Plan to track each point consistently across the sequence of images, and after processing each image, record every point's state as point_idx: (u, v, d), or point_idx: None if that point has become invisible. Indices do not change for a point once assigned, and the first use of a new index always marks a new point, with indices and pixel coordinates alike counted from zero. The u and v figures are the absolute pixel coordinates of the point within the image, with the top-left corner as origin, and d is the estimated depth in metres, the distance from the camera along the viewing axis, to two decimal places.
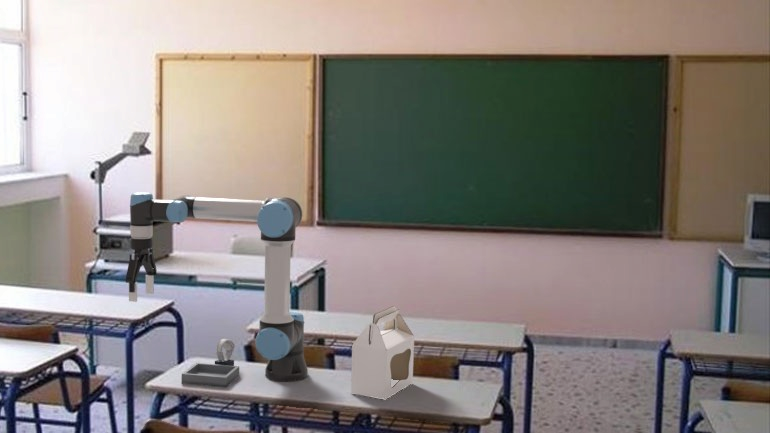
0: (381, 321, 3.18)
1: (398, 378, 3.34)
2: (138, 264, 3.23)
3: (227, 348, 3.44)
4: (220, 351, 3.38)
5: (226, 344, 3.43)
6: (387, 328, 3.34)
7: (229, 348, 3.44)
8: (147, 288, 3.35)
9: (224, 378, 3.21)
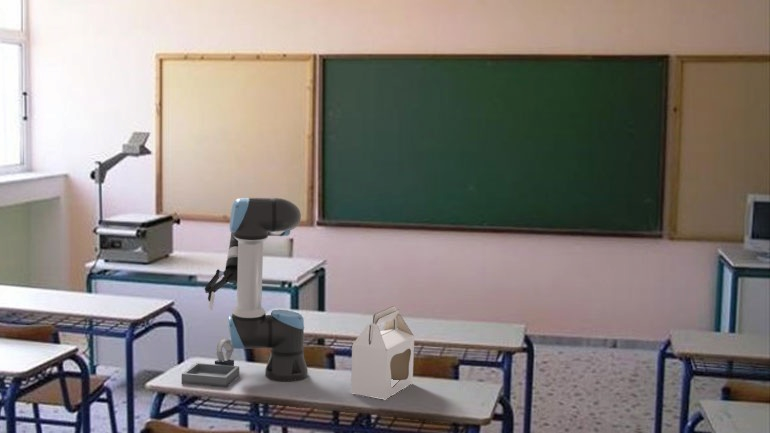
0: (381, 321, 3.18)
1: (398, 378, 3.34)
2: None
3: (227, 348, 3.44)
4: (220, 351, 3.38)
5: (226, 344, 3.43)
6: (387, 328, 3.34)
7: (229, 348, 3.44)
8: None
9: (224, 378, 3.21)
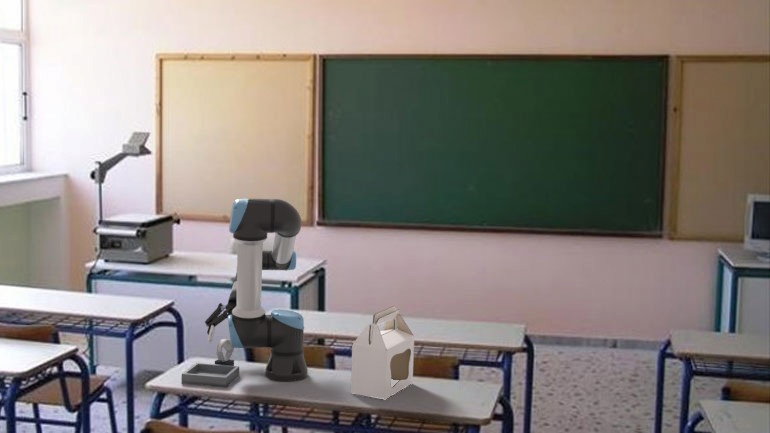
0: (381, 321, 3.18)
1: (398, 378, 3.34)
2: None
3: (227, 348, 3.44)
4: (220, 351, 3.38)
5: (226, 344, 3.43)
6: (387, 328, 3.34)
7: (229, 348, 3.44)
8: None
9: (224, 378, 3.21)
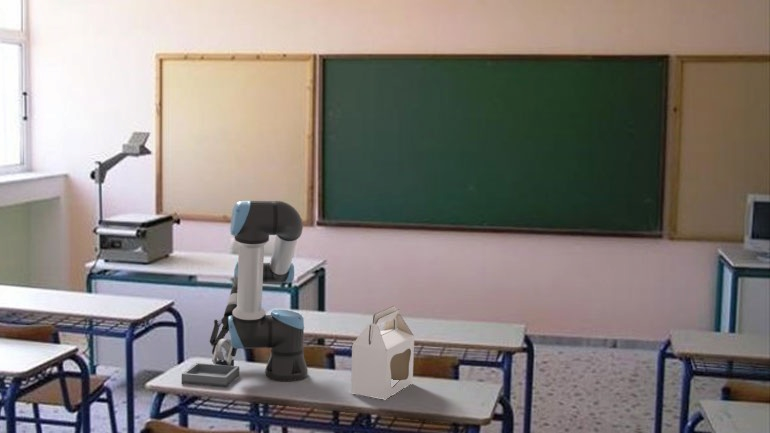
0: (381, 321, 3.18)
1: (398, 378, 3.34)
2: None
3: (227, 348, 3.44)
4: (220, 351, 3.38)
5: (225, 344, 3.43)
6: (387, 328, 3.34)
7: (229, 348, 3.44)
8: None
9: (224, 378, 3.21)
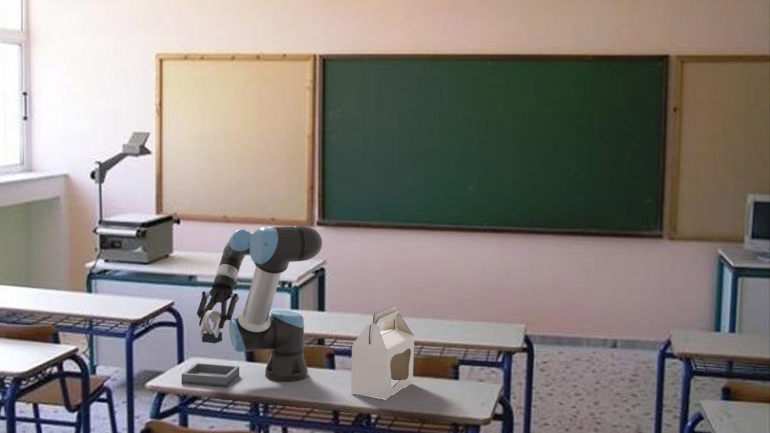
0: (381, 321, 3.18)
1: (398, 378, 3.34)
2: None
3: (214, 320, 3.32)
4: (206, 322, 3.26)
5: (213, 316, 3.31)
6: (387, 328, 3.34)
7: (216, 320, 3.31)
8: None
9: (224, 378, 3.21)
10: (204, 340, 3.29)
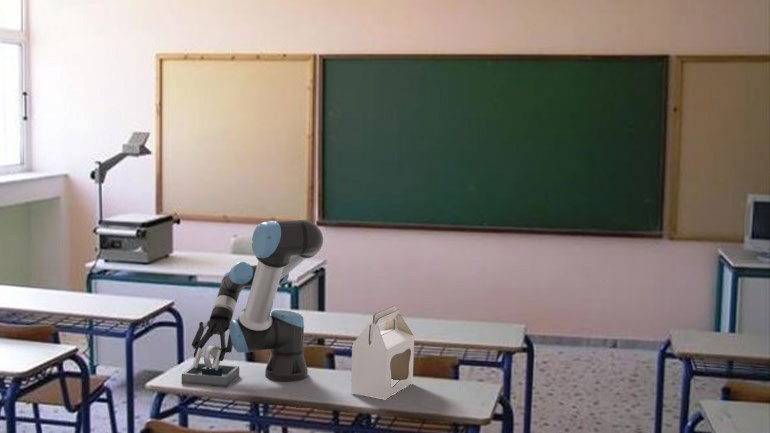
0: (381, 321, 3.18)
1: (398, 378, 3.34)
2: None
3: (214, 355, 3.31)
4: (207, 358, 3.25)
5: (213, 351, 3.30)
6: (387, 328, 3.34)
7: (216, 355, 3.31)
8: None
9: (224, 378, 3.21)
10: None
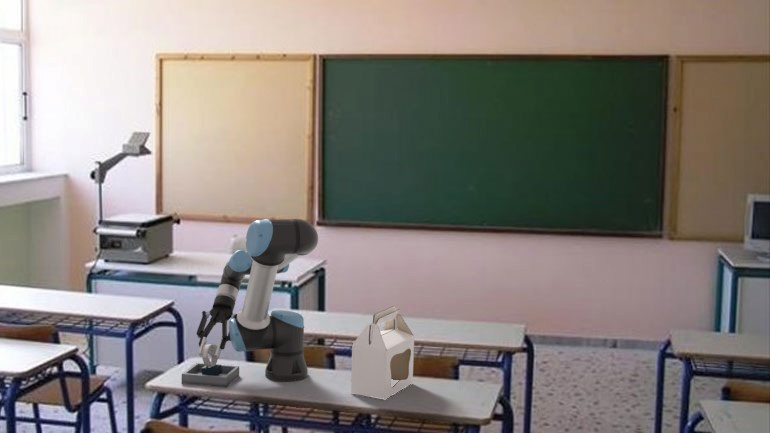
0: (381, 321, 3.18)
1: (398, 378, 3.34)
2: None
3: (212, 353, 3.32)
4: (206, 357, 3.26)
5: (211, 349, 3.31)
6: (387, 328, 3.34)
7: (214, 353, 3.32)
8: None
9: (224, 378, 3.21)
10: (204, 374, 3.29)
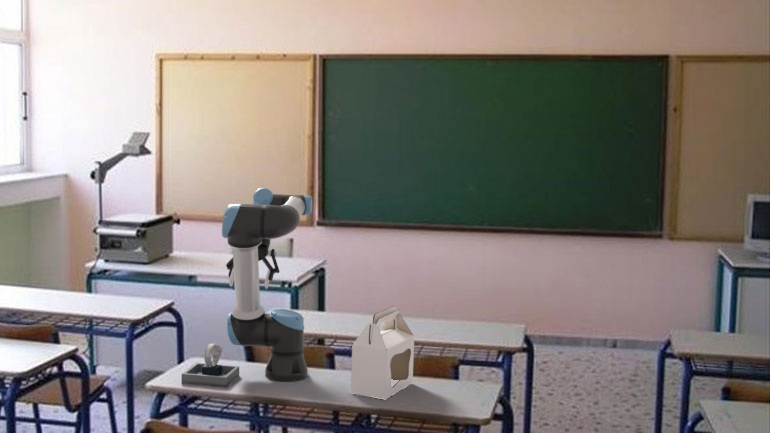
0: (381, 321, 3.18)
1: (398, 378, 3.34)
2: None
3: (214, 353, 3.34)
4: (208, 356, 3.27)
5: (213, 349, 3.33)
6: (387, 328, 3.34)
7: (216, 353, 3.33)
8: None
9: (224, 378, 3.21)
10: (204, 373, 3.31)
